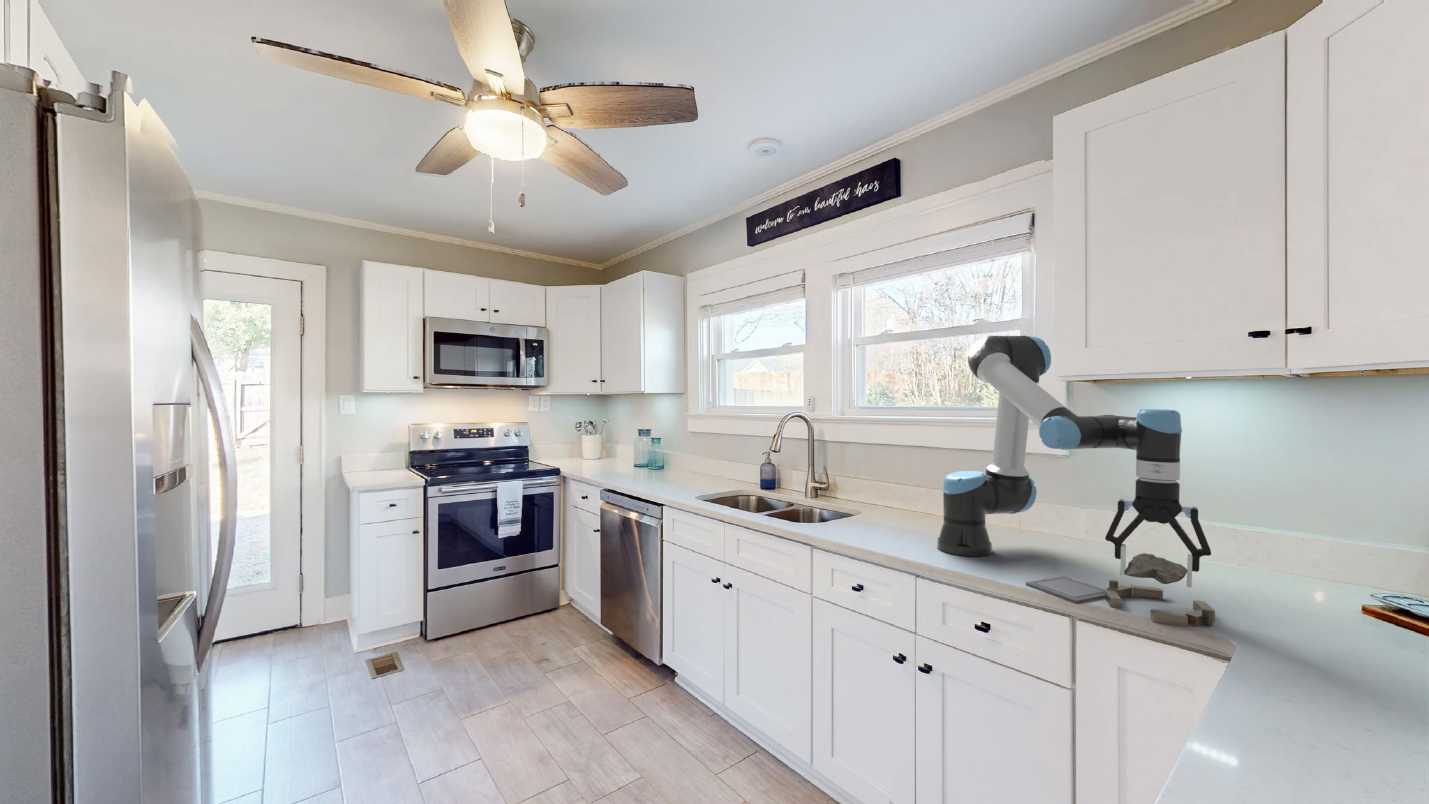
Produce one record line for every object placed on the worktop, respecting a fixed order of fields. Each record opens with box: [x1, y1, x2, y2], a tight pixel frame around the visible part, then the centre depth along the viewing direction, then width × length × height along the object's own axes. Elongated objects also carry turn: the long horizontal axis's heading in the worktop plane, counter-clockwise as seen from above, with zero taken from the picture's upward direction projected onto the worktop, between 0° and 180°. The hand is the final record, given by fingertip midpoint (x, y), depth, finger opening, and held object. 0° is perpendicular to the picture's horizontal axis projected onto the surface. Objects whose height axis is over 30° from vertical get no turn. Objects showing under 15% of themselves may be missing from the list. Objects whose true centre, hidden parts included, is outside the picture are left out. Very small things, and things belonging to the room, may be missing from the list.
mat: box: [1025, 575, 1106, 604], centre depth 133 cm, size 13×13×1 cm
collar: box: [1104, 579, 1216, 628], centre depth 121 cm, size 20×17×3 cm
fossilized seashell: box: [1125, 552, 1187, 585], centre depth 121 cm, size 11×11×7 cm
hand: (1154, 579), depth 121 cm, fingers closed on fossilized seashell, 11 cm apart
